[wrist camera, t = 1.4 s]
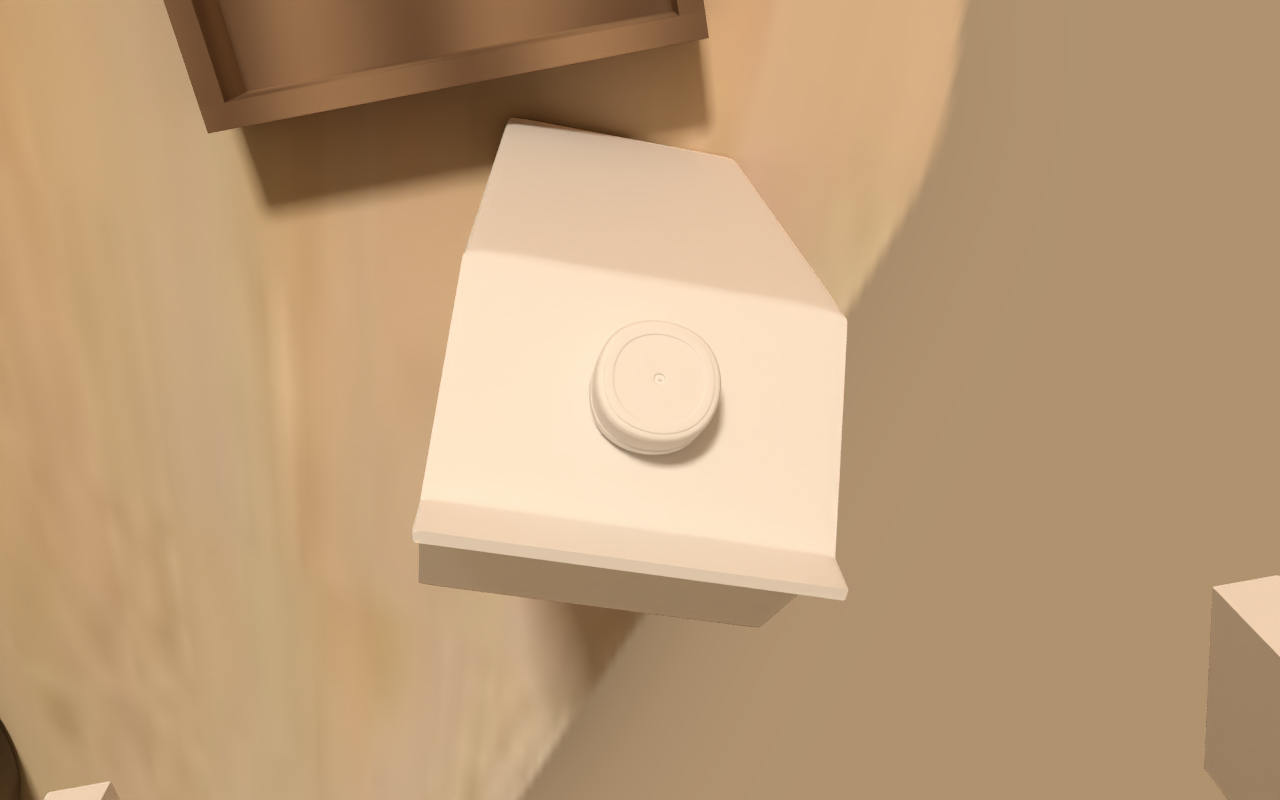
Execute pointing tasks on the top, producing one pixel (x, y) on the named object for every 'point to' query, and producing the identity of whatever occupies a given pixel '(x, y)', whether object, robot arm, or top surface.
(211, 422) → the top surface
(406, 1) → the tray
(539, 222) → the milk carton
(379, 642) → the top surface
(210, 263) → the top surface
